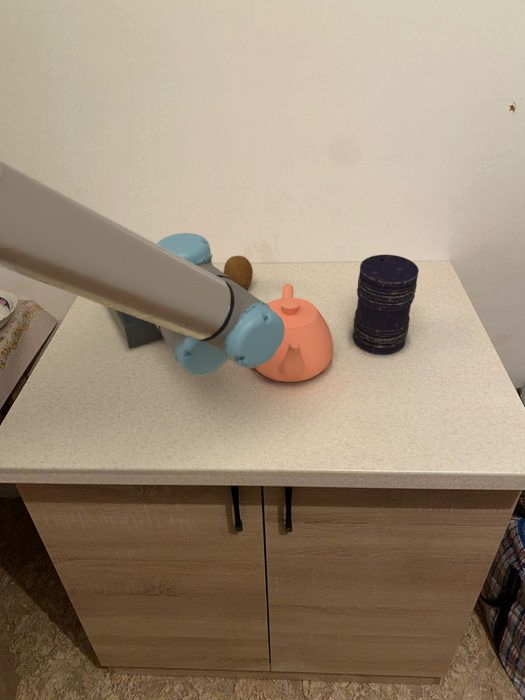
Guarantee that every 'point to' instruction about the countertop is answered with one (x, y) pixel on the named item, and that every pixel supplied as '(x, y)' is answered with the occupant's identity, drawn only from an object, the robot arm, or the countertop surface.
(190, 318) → the robot arm
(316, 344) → the teapot
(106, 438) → the countertop surface
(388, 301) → the dark blue cylinder
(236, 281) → the fruit
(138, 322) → the dark grey open tray
